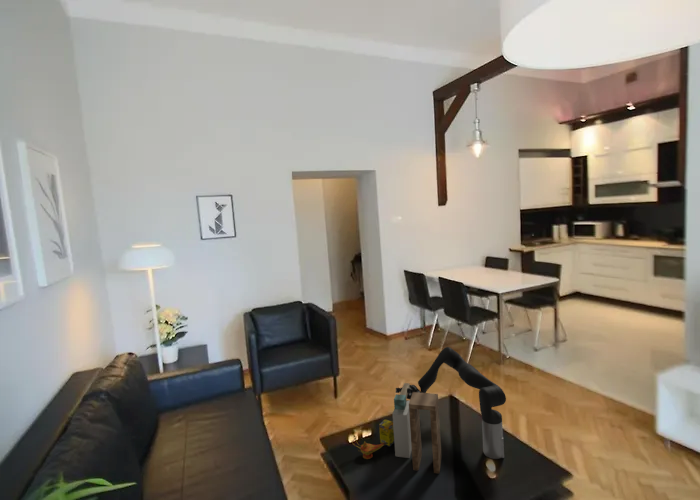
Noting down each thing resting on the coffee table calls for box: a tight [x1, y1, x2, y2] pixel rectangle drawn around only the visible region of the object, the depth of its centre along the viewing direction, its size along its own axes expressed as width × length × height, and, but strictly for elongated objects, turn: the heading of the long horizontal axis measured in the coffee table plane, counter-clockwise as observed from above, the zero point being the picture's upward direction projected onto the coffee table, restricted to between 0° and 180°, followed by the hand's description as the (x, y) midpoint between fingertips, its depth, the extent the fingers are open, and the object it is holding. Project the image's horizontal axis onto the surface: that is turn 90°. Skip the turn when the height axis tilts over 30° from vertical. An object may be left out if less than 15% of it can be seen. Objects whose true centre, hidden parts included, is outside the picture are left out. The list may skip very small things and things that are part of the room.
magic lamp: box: [351, 434, 388, 460], centre depth 186 cm, size 7×18×11 cm, turn 83°
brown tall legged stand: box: [409, 392, 442, 474], centre depth 176 cm, size 12×12×32 cm
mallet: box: [393, 382, 411, 410], centre depth 193 cm, size 5×22×5 cm, turn 162°
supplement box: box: [378, 419, 395, 448], centre depth 196 cm, size 6×6×11 cm
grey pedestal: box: [392, 399, 412, 459], centre depth 190 cm, size 7×14×22 cm, turn 162°
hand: (404, 390), depth 196 cm, fingers closed on mallet, 3 cm apart
